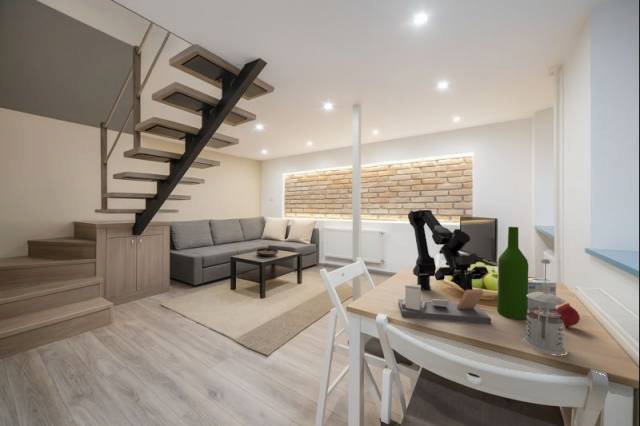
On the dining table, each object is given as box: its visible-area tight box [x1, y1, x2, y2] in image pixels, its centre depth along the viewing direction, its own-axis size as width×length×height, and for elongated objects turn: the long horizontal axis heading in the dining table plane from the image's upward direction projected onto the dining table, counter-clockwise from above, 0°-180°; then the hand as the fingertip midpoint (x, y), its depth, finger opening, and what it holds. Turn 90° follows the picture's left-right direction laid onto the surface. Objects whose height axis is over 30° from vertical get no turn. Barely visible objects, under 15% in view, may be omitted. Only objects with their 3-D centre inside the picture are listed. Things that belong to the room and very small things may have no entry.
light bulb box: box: [528, 277, 557, 310], centre depth 100 cm, size 11×7×11 cm, turn 84°
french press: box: [521, 258, 567, 355], centre depth 70 cm, size 10×12×25 cm
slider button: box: [404, 282, 422, 310], centre depth 93 cm, size 3×5×8 cm, turn 62°
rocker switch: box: [431, 298, 450, 306], centre depth 94 cm, size 4×5×2 cm
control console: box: [397, 298, 492, 325], centre depth 93 cm, size 12×29×4 cm, turn 78°
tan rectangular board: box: [457, 288, 485, 309], centre depth 90 cm, size 1×6×10 cm
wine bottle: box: [496, 226, 529, 321], centre depth 92 cm, size 9×9×32 cm
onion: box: [555, 302, 581, 328], centre depth 83 cm, size 6×6×8 cm
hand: (471, 294), depth 90 cm, fingers closed, pressing on tan rectangular board
